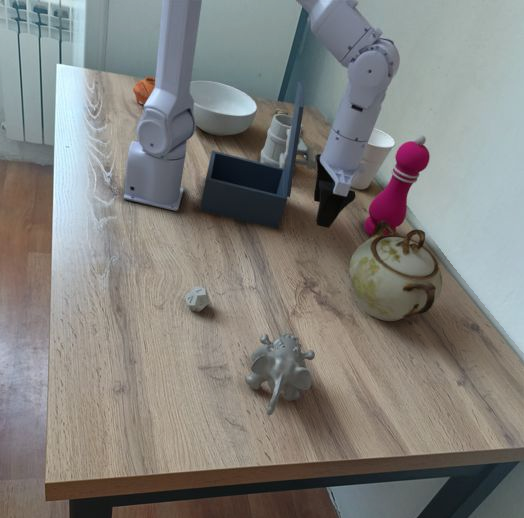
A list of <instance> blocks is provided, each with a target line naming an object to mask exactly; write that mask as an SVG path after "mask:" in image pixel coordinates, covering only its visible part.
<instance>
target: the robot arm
mask: <svg viewBox="0 0 524 518" xmlns="http://www.w3.org/2000/svg"><path fill="white" fill-rule="evenodd" d="M295 1H296V2H297V3H298V4H299V5H300V6H301V7H302V8H303V10H305V12H307V13H308V15H309V20H310V21H309V23H310V31H311V32H312V33H313V35H314V36H315V38H316V39H318V40H319V41H320V43H321V44H322V45H323V46H324V47H325V48H326V49H327V50H328V51H329V53H330V54H331V55H332V56H333V57H334V58H335V59H336V61H337V62H338V63H339V64H340V65H341V66H342V67H344V68H346V69H347V78H348V82H347V84H346V88H345V91H344V92H343V94H342V96H341V99H340V102H339V105H338V108H337V110H336V114H335V116H334V121H333V122H332V126H331V128H330V131H329V135H328V137H327V139H326V143H325V146H324V149H323V151H322V152H321V153H318V154H317V153H316V155H315V162H316V178H315V179H316V180H315V186H314V192H313V193H314V194H313V201H314V202H317V203H318V208H317V214H316V221H315V223H316V224H315V225H316V226H318V227H321V228H325V229H330V227H331V226H332V224H334V222H335V220H336V219H337V217H338V216H339V215H340V213H341V212H342V211H343V210H344V209H345V208H346V207H347V206H348V205H349V204H351V203H352V202H354V200H355V199H356V197H357V196H356V195H357V194H356V191H355V190H351V188H352V187H351V182H352V180H353V178H354V177H355V175H356V174H357V173H358V172H359V173H364V172H365V169H366V168H365V165H364V164H362V163H360V161H361V158H362V156H363V153H364V151H365V148H366V146H367V143H368V141H369V138H370V136H371V133H372V131H373V128H375V126H376V123H377V121H378V118H379V115H380V113H381V110H382V104H383V102H384V101H385V99H386V96H387V90H388V87H389V86H390V84H391V83H392V81H393V79H394V78H395V76H396V75H397V74H398V70H399V67H400V64H401V63H400V62H401V58H400V57H401V56H400V53H399V50H398V48H397V47H396V45H395V42H394V40H393V39H391V38H389V37H385V36H382V35H383V31H382V30H381V29H380V28H379V27H375V28H374V27H373V26H372V25H371V24H370V22H369V21H368V20H367V19H366V17H364V15H363V14H362V13H361V11H359V10H358V8H357V6H358V4H359V1H358V0H295ZM202 2H203V0H162V5H161V14H160V26H159V37H158V46H157V47H158V49H157V59H156V67H155V69H156V70H155V88H154V90H153V91H152V93H151V95H150V96H149V98H148V100H147V101H146V103H145V104H143V112H142V116H141V118H140V119H139V120H138V122H137V125H136V129H135V131H136V138H137V140H132V141H131V143H130V145H129V149H128V155H127V161H126V170H125V183H124V194H123V199H124V200H127V201H130V202H134V203H139V204H143V205H148V206H153V207H157V208H161V209H166V210H169V211H174V212H177V211H179V209H180V204H181V200H182V198H183V194H184V191H185V190H184V187H182V180H183V174H184V167H185V160H186V154H187V141H188V140H189V139H191V138H192V137H193V136H194V134H195V132H196V130H197V129H196V128H197V126H196V120H195V116H194V112H193V107H194V100H193V98H192V96H191V94H190V92H189V91H190V84H191V82H192V75H193V69H194V62H195V54H196V48H197V39H198V32H199V25H200V24H199V23H200V19H201V18H200V17H201V9H202Z"/></svg>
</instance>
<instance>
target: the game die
mask: <svg viewBox="0 0 524 518" xmlns="http://www.w3.org/2000/svg"><path fill="white" fill-rule="evenodd" d="M184 299H185V302H186V306H187V307H188V309H189V310H190V311H193V312H197V313H200V312H201V311H203V309H204V308H205V307H206V306H207V305H208V304H209V303H210V301H211V300H210V298H209V295H208V292H207V289H206V287H205V288H204V287H202V286H198V285H194V286H193V288H192V289H191V290H190V291H188V293H186V294H185V295H184Z"/></svg>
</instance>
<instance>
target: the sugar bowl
mask: <svg viewBox="0 0 524 518" xmlns="http://www.w3.org/2000/svg"><path fill="white" fill-rule="evenodd" d="M380 229H381V230H380ZM386 230H388V232H389V233H390V235H383V234H384V233H385V231H386ZM415 235H417V236H418V238H419V241H416V240H414V239H412V237H413V236H415ZM425 241H426V232H425V231H424V230H422V229H416V228H415V229H412V230H410V231H409V232H408V233H407V234H406V235H405V236H403V235H399V234H398V233H397V231H396V232H395V231H394V230H393V229H392V228H391V227H390V225H389V224H388V223H387V222H386V221H380V222H378V223H377V224H376V226H375V228H374V230H373V236H370V238H369V239H368V240H366V241H364V242H363V243H361V244H360V245H359V246H358V247H357V249H355V250H354V252H353V254H352V255H351V257H350V261H349V266H348V267H349V269H348V273H349V280H350V284H351V287H352V289H353V293H354V295H355V299H356V301H357V304H358V305H359V307H360V308H361V309H362V310H363V311H364V312H365V313H366V314H368V315H369V316H371V317H373V318H375V319H378V320H381V321H386V322H396V321H400V320H401V319H405V318H411V317H413V316H416V315H423V314H425V313H427V312H428V311H429V310H430V309H431V308H432V307H433V305H434V304H435V302H436V301H437V300H438V299H439V296H440V294H441V292H442V288H443V274H442V271H441V268H440V266H439V262H438V260H437V258H436V257H435V255H434V254H433V253H432V251H430V250H429V249H428V247H426V246H424V244H425Z"/></svg>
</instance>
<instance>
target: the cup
mask: <svg viewBox="0 0 524 518" xmlns="http://www.w3.org/2000/svg"><path fill="white" fill-rule="evenodd" d="M395 146H396V140H395V139H394V138H393V137H392V136H391V135H390V134H389V133H387V132H385V131H383V130H380V129H379V128H376V127H374V128H373V131H372V133H371V136H370V138H369V141H368V143H367V146H366V148H365V151H364V153H363V156H362V158H361V161H360V163H362V164H364V165H365V168H366V169H365V172H364V173H359V172H358V173H357V174H356V175H355V177H354V178H353V180H352V182H351V187H350V188H352V189H356V190H366V189H367V188H369V186H370V185H371V183H372V181H373V180H374V178H375V177H376V175H377V173H378V172H379V170H380V168H381V167H382V165H383V164H384V162H385V160H386V159H387V158H388V155H389V154H390V152H391V151H392V149H393V148H395Z"/></svg>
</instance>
